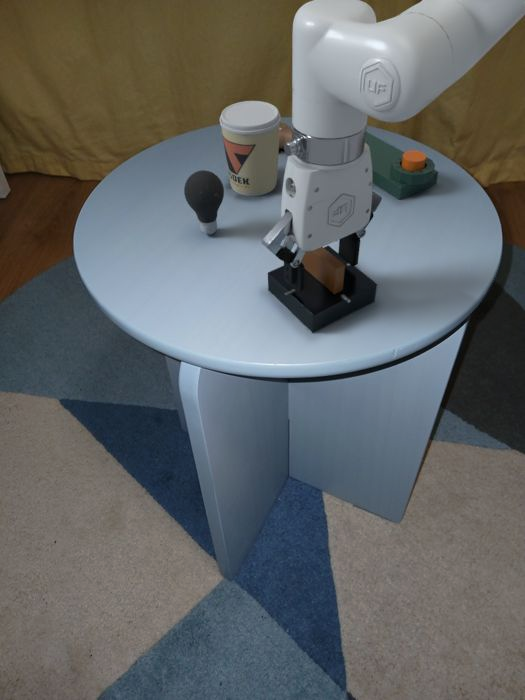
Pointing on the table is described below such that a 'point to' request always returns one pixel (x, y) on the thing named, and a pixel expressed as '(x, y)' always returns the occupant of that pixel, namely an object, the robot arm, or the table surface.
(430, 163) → the button box
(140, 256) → the table surface
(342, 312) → the clamp block
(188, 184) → the light bulb
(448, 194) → the table surface
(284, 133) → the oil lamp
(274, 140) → the coffee cup
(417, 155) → the button
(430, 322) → the table surface
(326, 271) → the wooden rectangular beam
